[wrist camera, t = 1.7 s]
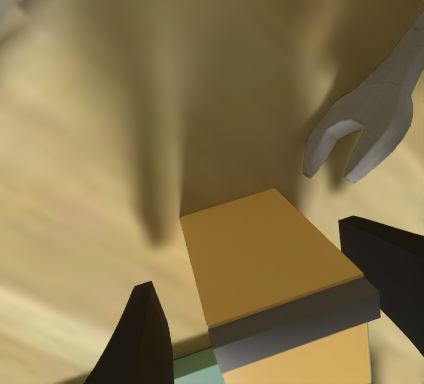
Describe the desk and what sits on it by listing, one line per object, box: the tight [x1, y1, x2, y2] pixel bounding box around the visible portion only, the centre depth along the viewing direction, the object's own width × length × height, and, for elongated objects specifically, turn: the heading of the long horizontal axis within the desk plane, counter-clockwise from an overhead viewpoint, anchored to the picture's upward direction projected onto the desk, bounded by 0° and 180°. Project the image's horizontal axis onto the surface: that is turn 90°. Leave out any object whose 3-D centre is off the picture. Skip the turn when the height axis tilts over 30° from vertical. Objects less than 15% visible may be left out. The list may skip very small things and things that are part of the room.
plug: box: [179, 188, 381, 384], centre depth 11 cm, size 4×4×7 cm
